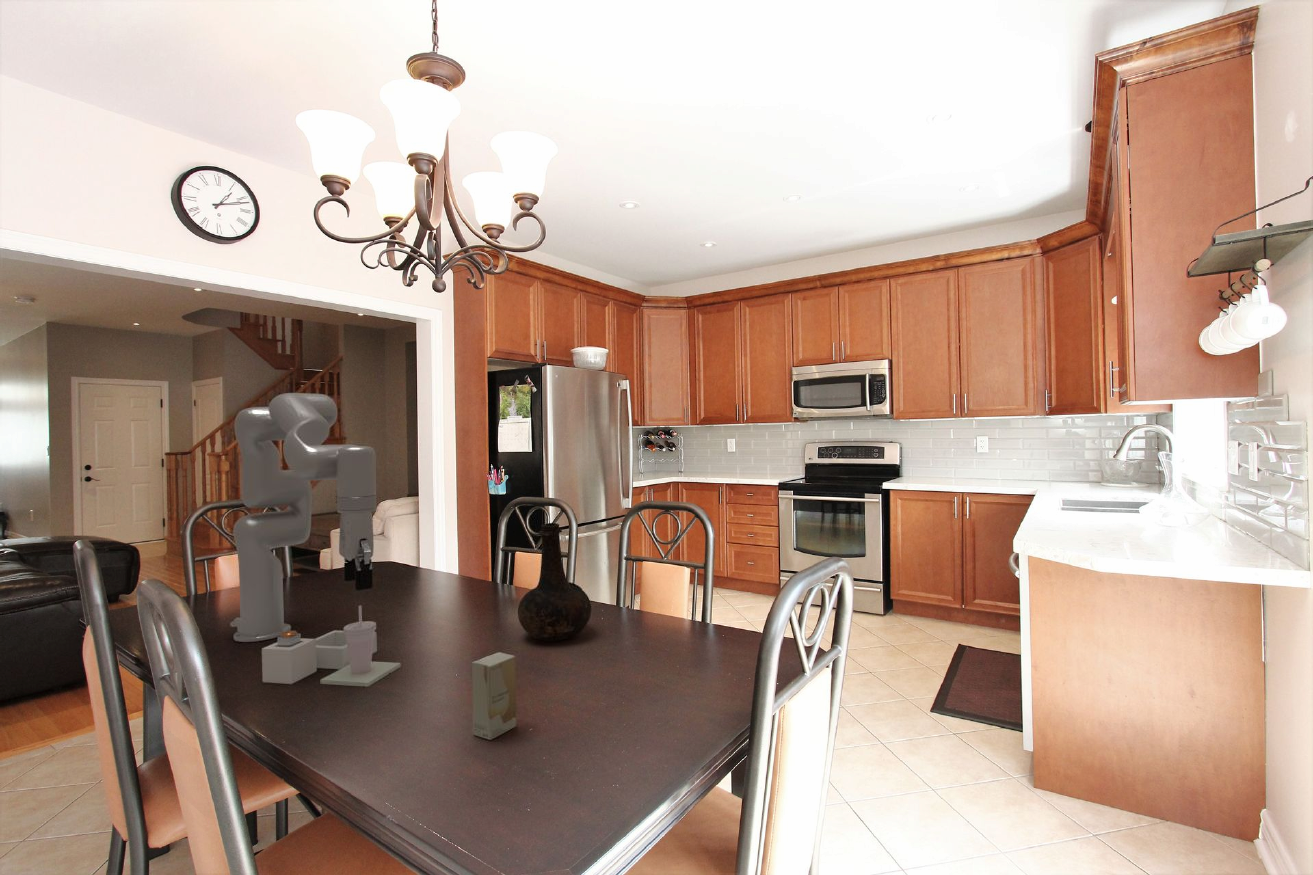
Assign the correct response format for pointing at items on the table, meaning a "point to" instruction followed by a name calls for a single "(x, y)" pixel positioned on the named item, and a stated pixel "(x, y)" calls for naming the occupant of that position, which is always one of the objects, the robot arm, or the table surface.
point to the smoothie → (360, 644)
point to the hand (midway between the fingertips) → (358, 584)
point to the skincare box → (494, 695)
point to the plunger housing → (289, 662)
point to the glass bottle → (553, 596)
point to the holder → (334, 650)
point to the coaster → (360, 675)
